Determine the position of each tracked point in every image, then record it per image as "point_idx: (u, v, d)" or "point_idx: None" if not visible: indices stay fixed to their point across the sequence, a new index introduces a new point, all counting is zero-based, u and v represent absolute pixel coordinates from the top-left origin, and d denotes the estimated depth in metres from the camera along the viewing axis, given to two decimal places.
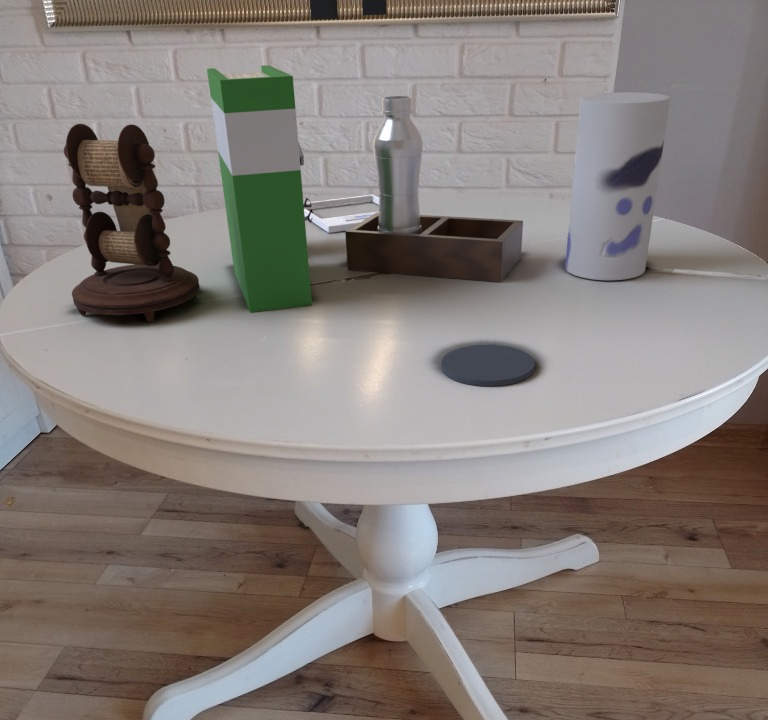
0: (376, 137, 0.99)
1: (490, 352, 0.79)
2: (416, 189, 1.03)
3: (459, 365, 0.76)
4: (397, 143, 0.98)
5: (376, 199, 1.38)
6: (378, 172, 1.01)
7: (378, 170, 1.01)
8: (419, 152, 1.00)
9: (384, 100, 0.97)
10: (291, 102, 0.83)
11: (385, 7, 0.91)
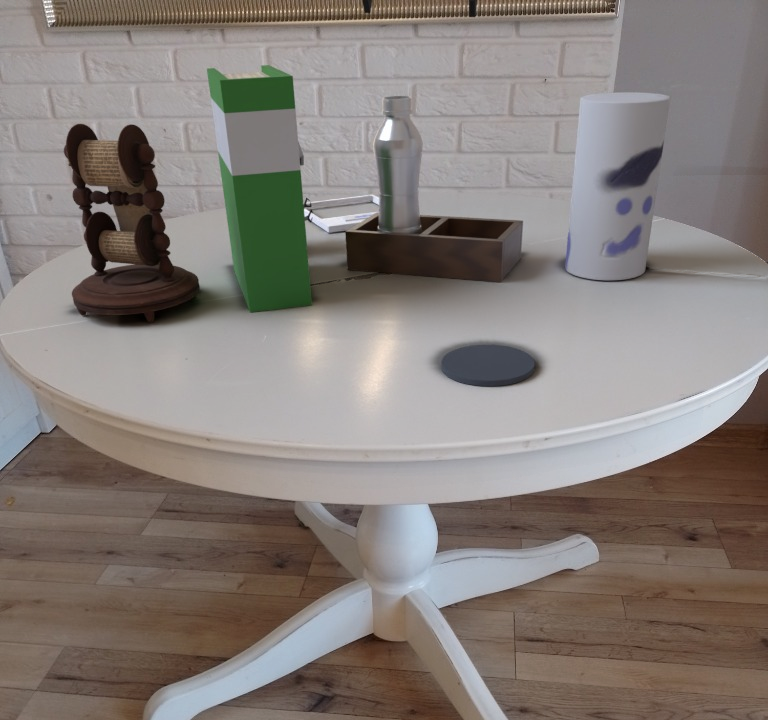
0: (376, 137, 0.99)
1: (490, 352, 0.79)
2: (416, 189, 1.03)
3: (459, 365, 0.76)
4: (397, 143, 0.98)
5: (376, 199, 1.38)
6: (378, 172, 1.01)
7: (378, 170, 1.01)
8: (419, 152, 1.00)
9: (384, 100, 0.97)
10: (291, 102, 0.83)
11: None
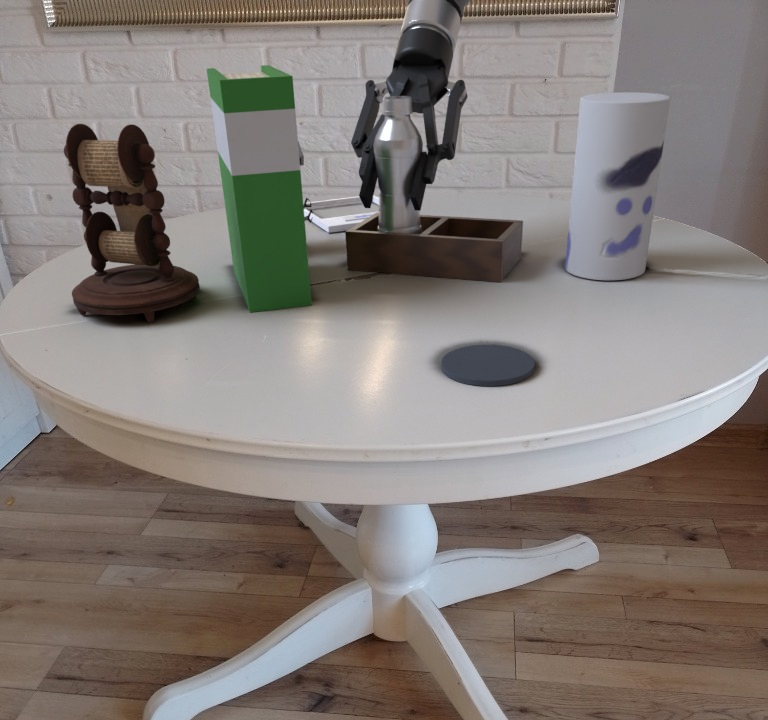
0: (376, 137, 0.99)
1: (490, 352, 0.79)
2: None
3: (459, 365, 0.76)
4: (397, 143, 0.98)
5: (376, 199, 1.38)
6: (378, 172, 1.01)
7: (378, 170, 1.01)
8: (419, 152, 1.00)
9: (384, 100, 0.97)
10: (291, 102, 0.83)
11: (415, 193, 0.99)
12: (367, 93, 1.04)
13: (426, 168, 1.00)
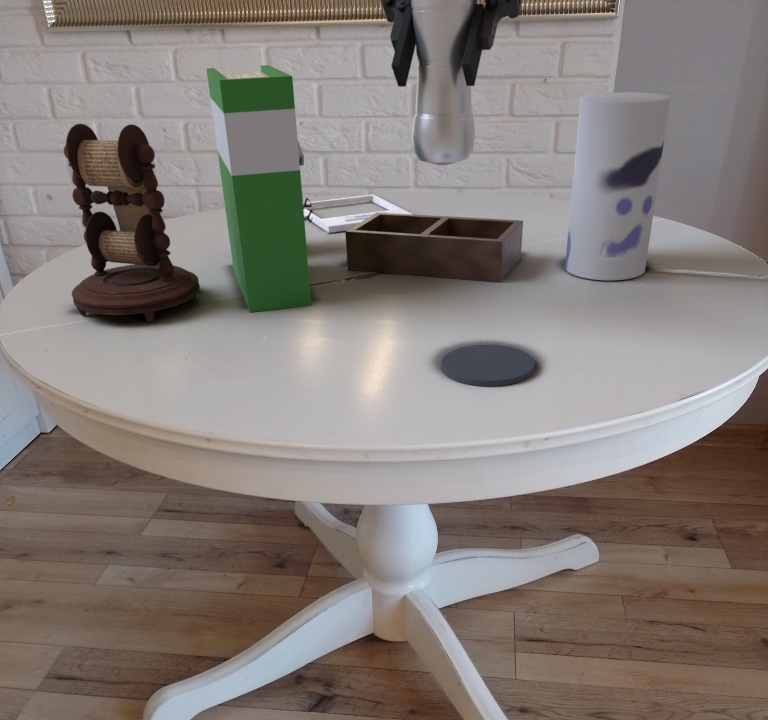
0: None
1: (490, 352, 0.79)
2: None
3: (459, 365, 0.76)
4: None
5: (376, 199, 1.38)
6: (417, 34, 0.75)
7: (417, 31, 0.75)
8: (474, 4, 0.74)
9: None
10: (290, 102, 0.83)
11: (468, 58, 0.73)
12: None
13: (483, 26, 0.74)
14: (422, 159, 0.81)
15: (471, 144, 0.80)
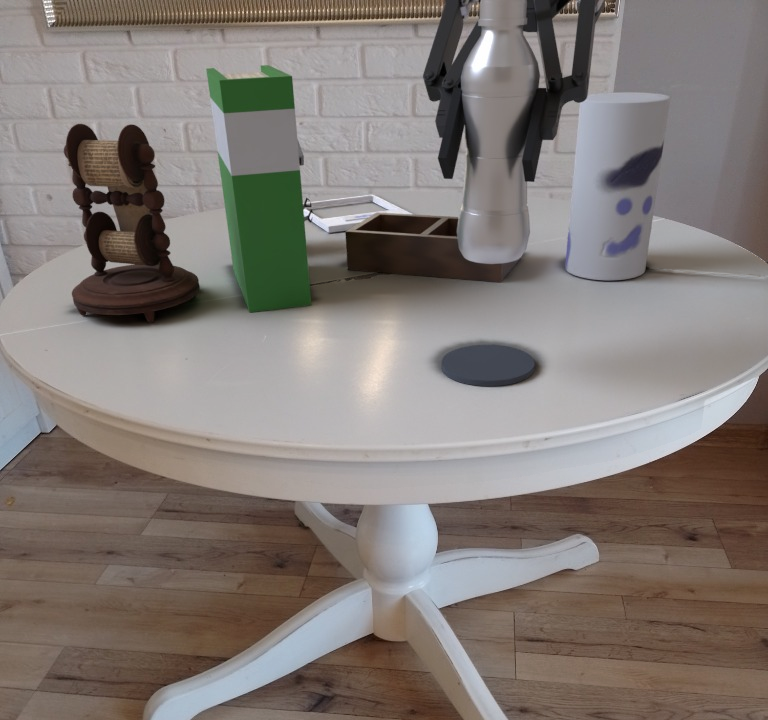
0: (468, 64, 0.62)
1: (490, 352, 0.79)
2: None
3: (459, 365, 0.76)
4: (503, 71, 0.61)
5: (376, 199, 1.38)
6: (468, 121, 0.64)
7: (468, 118, 0.64)
8: (535, 88, 0.63)
9: (484, 1, 0.60)
10: (290, 102, 0.83)
11: (530, 152, 0.62)
12: (447, 1, 0.67)
13: (546, 114, 0.63)
14: (469, 258, 0.70)
15: (526, 242, 0.69)
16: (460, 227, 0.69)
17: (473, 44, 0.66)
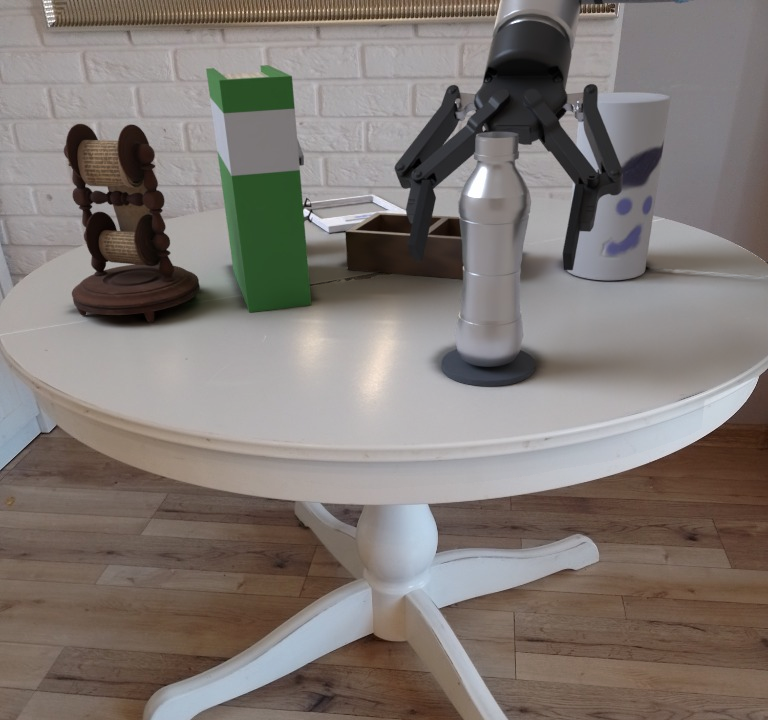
0: (464, 192, 0.68)
1: None
2: (519, 265, 0.71)
3: (459, 365, 0.76)
4: (497, 202, 0.66)
5: (376, 199, 1.38)
6: (465, 242, 0.70)
7: (465, 239, 0.69)
8: (527, 214, 0.68)
9: (479, 139, 0.65)
10: (290, 102, 0.83)
11: (570, 246, 0.66)
12: (443, 103, 0.73)
13: (584, 209, 0.67)
14: (466, 361, 0.75)
15: (519, 346, 0.74)
16: (458, 333, 0.74)
17: (451, 147, 0.72)
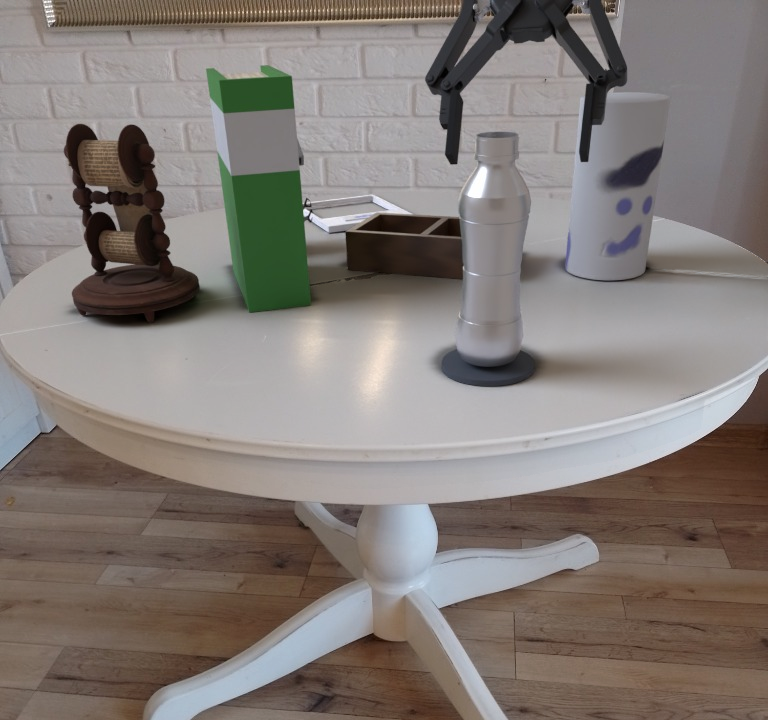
0: (464, 192, 0.68)
1: None
2: (519, 265, 0.71)
3: (459, 365, 0.76)
4: (497, 202, 0.66)
5: (376, 199, 1.38)
6: (465, 242, 0.70)
7: (465, 239, 0.69)
8: (527, 214, 0.68)
9: (479, 139, 0.65)
10: (290, 102, 0.83)
11: (585, 144, 0.78)
12: (462, 9, 0.81)
13: (595, 106, 0.78)
14: (466, 361, 0.75)
15: (519, 346, 0.74)
16: (458, 333, 0.74)
17: (474, 54, 0.81)
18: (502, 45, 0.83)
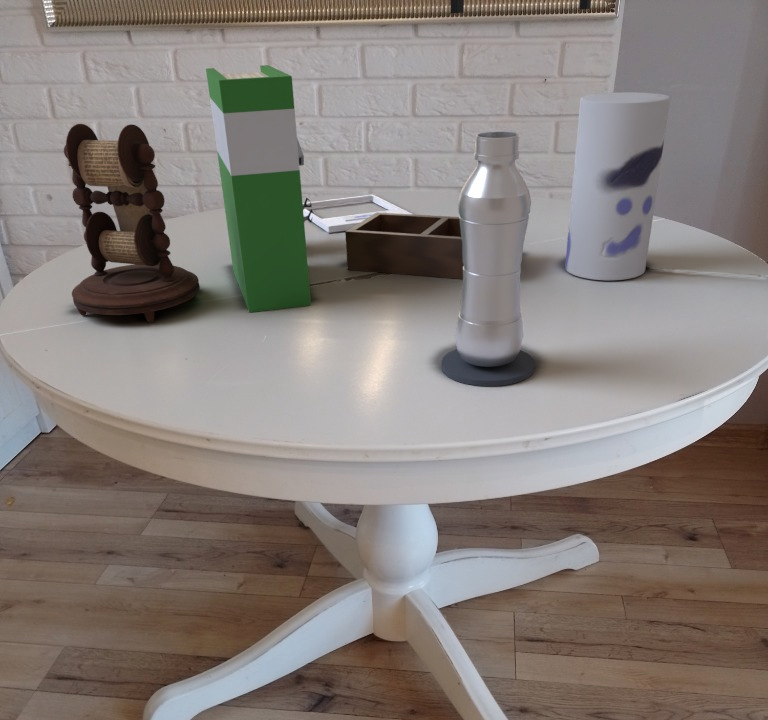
0: (464, 192, 0.68)
1: None
2: (519, 265, 0.71)
3: (459, 365, 0.76)
4: (497, 202, 0.66)
5: (376, 199, 1.38)
6: (465, 242, 0.70)
7: (465, 239, 0.69)
8: (527, 214, 0.68)
9: (479, 139, 0.65)
10: (290, 102, 0.83)
11: (585, 1, 0.80)
12: None
13: None
14: (466, 361, 0.75)
15: (519, 346, 0.74)
16: (458, 333, 0.74)
17: None
18: None
